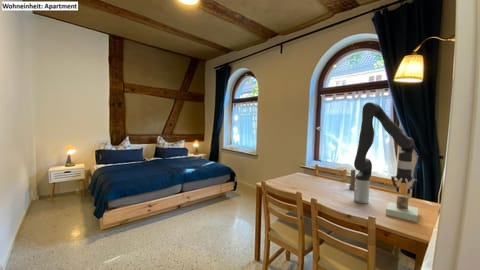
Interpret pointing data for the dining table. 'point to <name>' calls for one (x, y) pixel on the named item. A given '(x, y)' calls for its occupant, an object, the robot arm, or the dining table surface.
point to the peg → (402, 202)
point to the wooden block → (352, 180)
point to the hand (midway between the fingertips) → (402, 193)
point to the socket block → (402, 212)
